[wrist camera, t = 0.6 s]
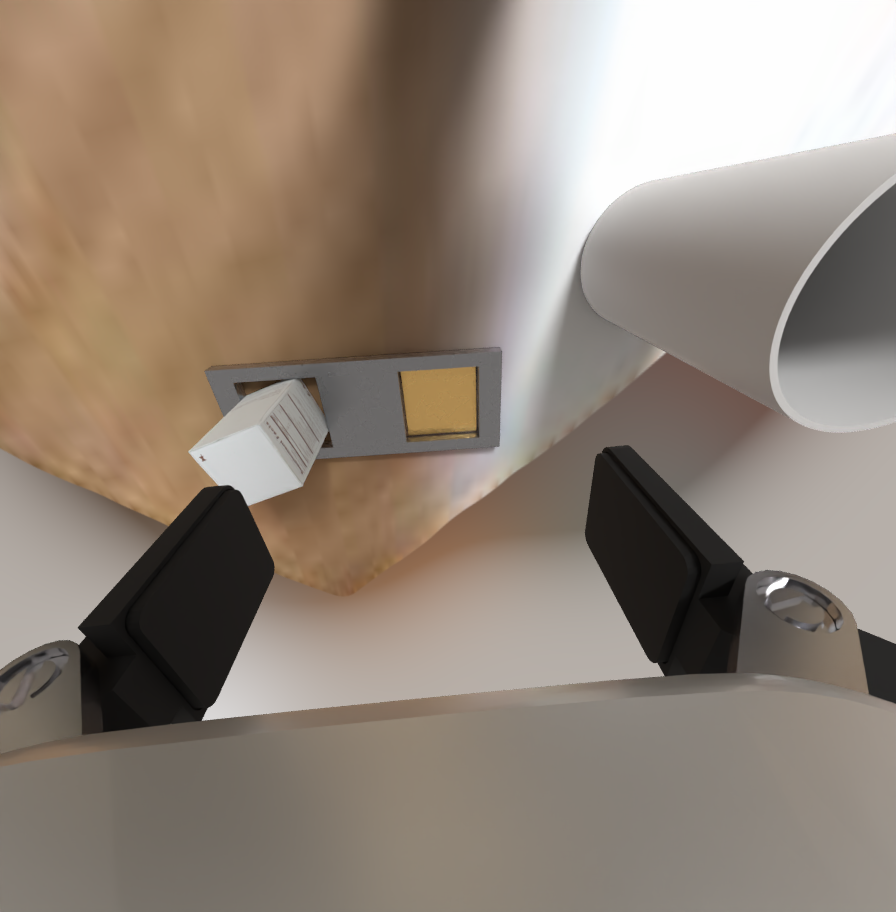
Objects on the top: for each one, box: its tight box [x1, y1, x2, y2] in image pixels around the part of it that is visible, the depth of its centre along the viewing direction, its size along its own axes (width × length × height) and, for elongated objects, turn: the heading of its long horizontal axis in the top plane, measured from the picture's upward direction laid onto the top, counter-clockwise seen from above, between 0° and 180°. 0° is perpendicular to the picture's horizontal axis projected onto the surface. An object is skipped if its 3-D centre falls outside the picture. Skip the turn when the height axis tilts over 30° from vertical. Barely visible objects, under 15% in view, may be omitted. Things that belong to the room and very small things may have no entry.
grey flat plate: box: [205, 347, 502, 459], centre depth 43 cm, size 12×32×2 cm, turn 93°
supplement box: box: [189, 378, 329, 506], centre depth 39 cm, size 7×7×13 cm
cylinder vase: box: [581, 134, 896, 432], centre depth 26 cm, size 12×12×25 cm
